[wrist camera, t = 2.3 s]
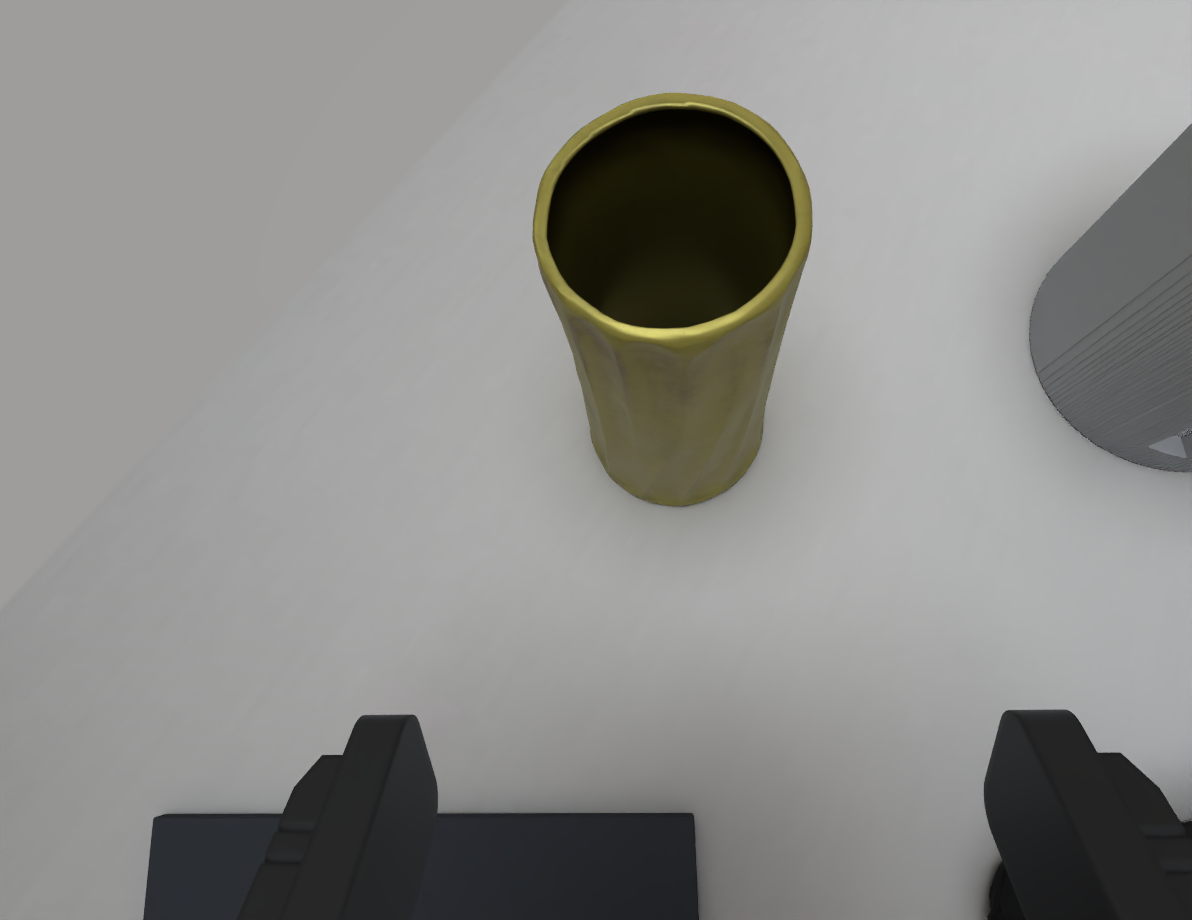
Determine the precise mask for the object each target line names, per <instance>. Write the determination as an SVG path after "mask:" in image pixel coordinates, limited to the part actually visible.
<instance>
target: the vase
mask: <svg viewBox="0 0 1192 920" xmlns="http://www.w3.org/2000/svg"><path fill="white" fill-rule="evenodd" d="M811 237H812V201H811V195H810V189H809V186H808V183H807V180H806V177H805V175H804V172H803V170H802V168H801V166H800V164H799V162H798V160H797V159H796V157H795V155H794V153H793V152H792V150H791V149H790V147H789V146H788V145H787V143H786V142H785V140H784V139H783V138H782V137H781V135H780V134H779V133H778V132H777V131H776V130H775V129H774V128H773V127H772V126H771V125H770V124H769V123H768V122H766V121H765V120H763V119H762V118H761V117H759V116H758V115H756V114H754V113H753V112H751V111H749V110H747V109H746V108H744V107H742V106H739V105H737V104H735V103H733V102H730V101H726V100H723V99H719V98H715V97H711V96H703V95H696V94H686V93H663V94H656V95H650V96H646V97H642V98H638V99H635V100H632V101H629V102H627V103H624V104H621V105H620V106H618V107H616V108H614V109H612V110H611V111H609V112H607V113H605V114H604V115H602V116H600V117H598V118H597V119H595V120H593V121H592V122H590V123H589V124H587V125H586V126H584V127H583V128H581V129H580V130H579V131H578V132H577V133H575V134H574V135H573V136H572V137H571V138H570V139H569V140H568V142H567V143H566V144H565V145H564V146H563V147H562V148H561V150H560V151H559V152H558V153H557V155H556V156H555V157H554V158H553V160H552V161H551V163H550V164H549V166H548V167H547V169H546V170H545V173H544V175H543V177H542V179H541V182H540V186H539V189H538V193H537V200H536V206H535V212H534V218H533V243H534V247H535V252H536V256H537V259H538V265H539V269H540V273H541V276H542V279H543V282H544V284H545V286H546V289H547V291H548V293H549V296H550V298H551V300H552V303H553V305H554V307H555V309H556V312H557V314H558V316H559V318H560V321H561V323H562V326H563V328H564V331H565V334H566V336H567V339H568V342H569V345H570V347H571V350H572V353H573V357H574V361H575V365H576V371H577V374H578V377H579V380H580V383H581V387H582V391H583V396H584V401H585V406H586V411H587V416H588V420H589V424H590V431H591V438H592V443H593V446H594V448H595V451H596V453H597V455H598V457H599V459H600V460H601V462H602V464H603V466H604V468H605V470H606V471H607V473H608V474H609V476H610V477H611V478H612V479H613V480H614V481H615V482H616V483H617V484H619V485H620V486H621V487H623V488H624V489H625V490H627V491H628V492H630V493H631V494H633V495H635V496H636V497H638V498H641V499H643V500H646V501H649V502H653V503H657V504H663V505H670V506H685V505H691V504H695V503H699V502H702V501H705V500H708V499H710V498H712V497H714V496H716V495H718V494H720V493H722V492H724V491H725V490H727V489H728V488H730V487H731V486H733V485H734V484H735V483H736V482H737V481H738V480H739V479H740V478H741V477H742V476H743V474H744V473H745V472H746V471H747V469H748V468H749V467H750V465H751V464H752V462H753V460H754V458H755V457H756V455H757V452H758V450H759V448H760V444H761V440H762V433H763V418H764V411H765V404H766V400H767V397H768V393H769V389H770V385H771V381H772V376H773V372H774V368H775V365H776V361H777V357H778V353H779V350H780V346H781V342H782V338H783V334H784V331H785V327H786V323H787V320H788V317H789V314H790V310H791V307H792V304H793V300H794V297H795V294H796V291H797V288H798V285H799V281H800V278H801V275H802V271H803V268H804V265H805V263H806V260H807V257H808V253H809V249H810V244H811Z"/></svg>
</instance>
